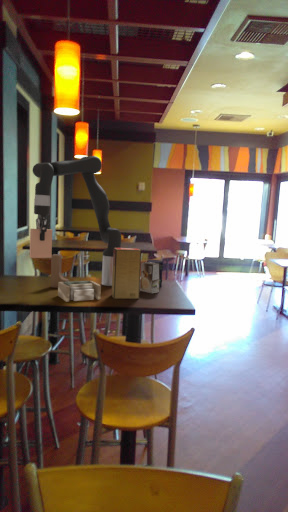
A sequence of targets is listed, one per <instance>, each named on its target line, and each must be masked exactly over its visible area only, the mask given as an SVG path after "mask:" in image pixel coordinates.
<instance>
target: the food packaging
mask: <svg viewBox="0 0 288 512" xmlns="http://www.w3.org/2000/svg"><path fill="white" fill-rule="evenodd" d="M141 260H142V250H141V249H140V248H138V247H137V248H135V247H134V248H133V247H130V248H129V247H120V248H114V251H113V274H112V286H111V296H112V299H114V300H121V299H122V300H128V299H129V300H139V299H140V285H141V263H142V261H141Z"/></svg>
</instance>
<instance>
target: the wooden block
mask: <svg viewBox="0 0 288 512" xmlns="http://www.w3.org/2000/svg"><path fill="white" fill-rule="evenodd" d="M62 255H63V254H59V253H57V254H56V253H53V254H52V257H51V258H50V259H51V260H50V288H53V289H54V288H55V289H58V282H70V280H69V279H68V278H65V277H64V276H63V274H62V264H63V263H62V262H63V261H62V259H63V258H62V257H63V256H62Z"/></svg>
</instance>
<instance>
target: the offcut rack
mask: <svg viewBox="0 0 288 512" xmlns="http://www.w3.org/2000/svg"><path fill="white" fill-rule="evenodd" d="M101 290H102V284H99V283H97V282H95V281H93V280H80V281H79V280H75V281H74V280H73V281H69V282H58V288H57V296H58V297H59V298H60V299H62V300H63V301H64V302H66V303H67V302H69V303H70V301H74V302H77V301H80V302H81V301H90V300H91V301H93V300H95V299H96V300H99V301H100V300H101V295H102V293H101V292H102V291H101Z"/></svg>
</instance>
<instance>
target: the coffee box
mask: <svg viewBox="0 0 288 512" xmlns="http://www.w3.org/2000/svg"><path fill="white" fill-rule="evenodd" d="M159 277H160V264H158V263H152V262H147V261H144V262H141V266H140V286H139V292H143V293H148V294H157V293H159V291H160V287H159Z"/></svg>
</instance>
